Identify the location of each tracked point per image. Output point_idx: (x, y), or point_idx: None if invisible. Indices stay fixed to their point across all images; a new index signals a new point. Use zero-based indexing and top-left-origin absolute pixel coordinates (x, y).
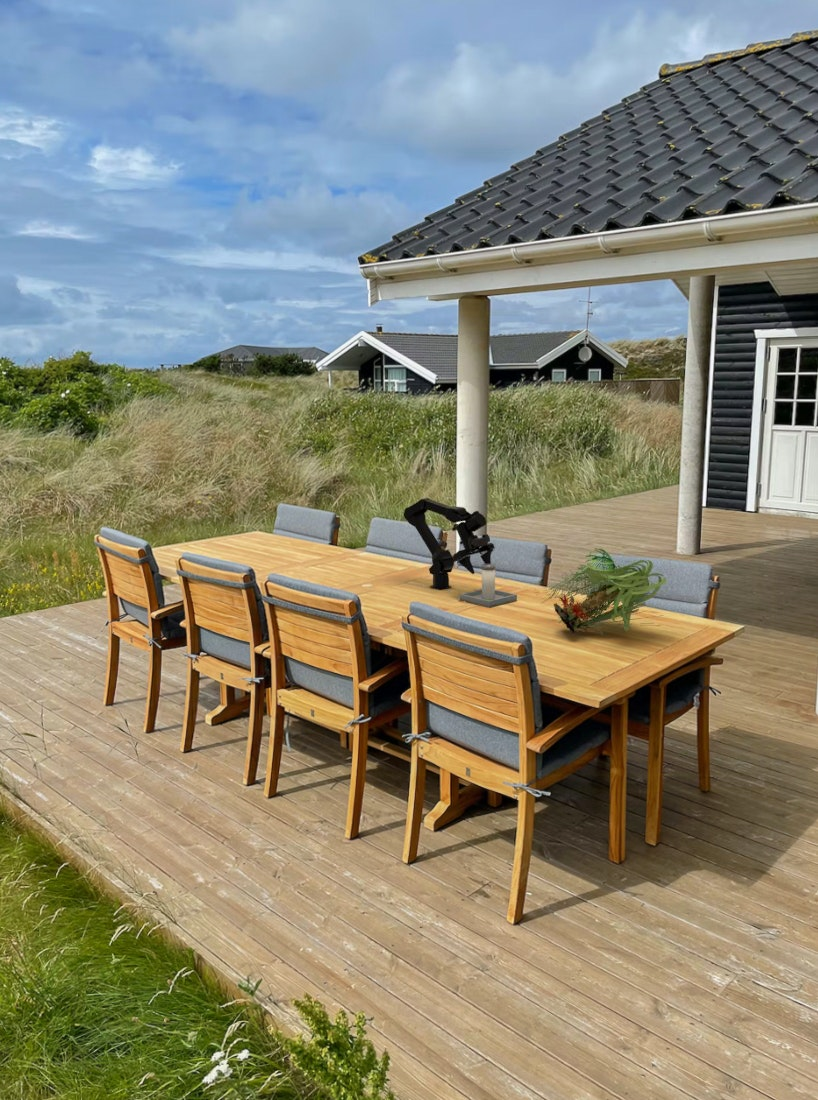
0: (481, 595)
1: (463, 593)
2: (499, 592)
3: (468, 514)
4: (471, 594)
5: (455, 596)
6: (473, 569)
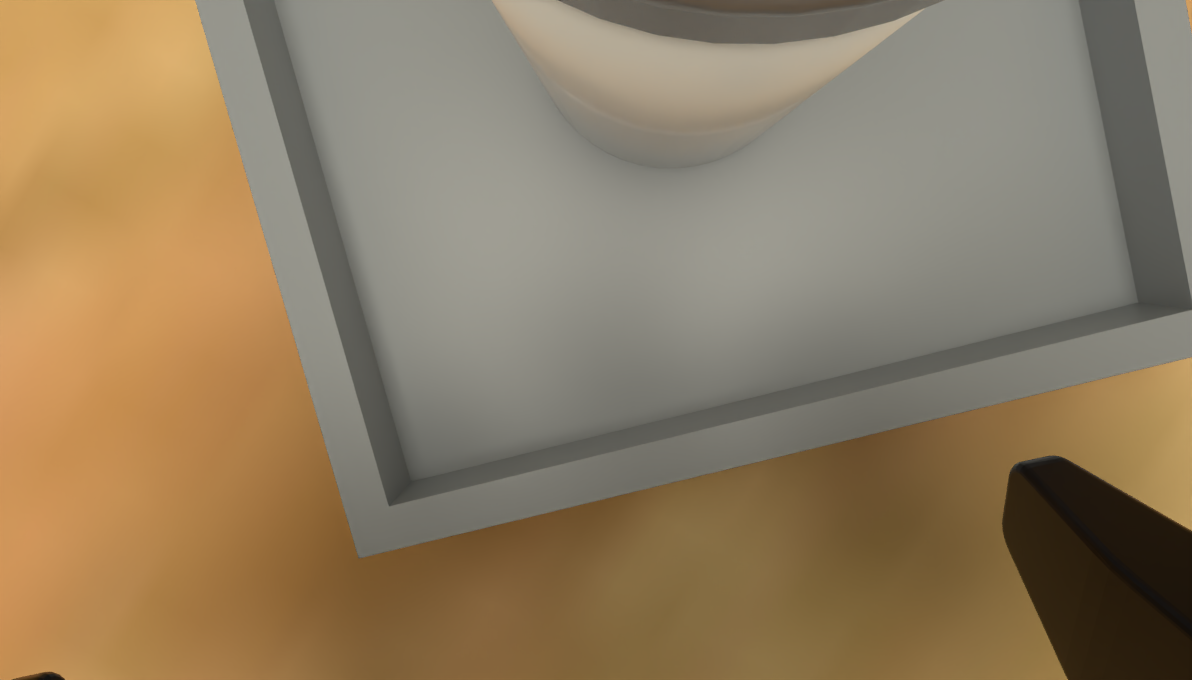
0: (651, 319)
1: (1128, 357)
2: (294, 139)
3: None
4: (876, 373)
5: (1045, 633)
6: (1134, 564)
